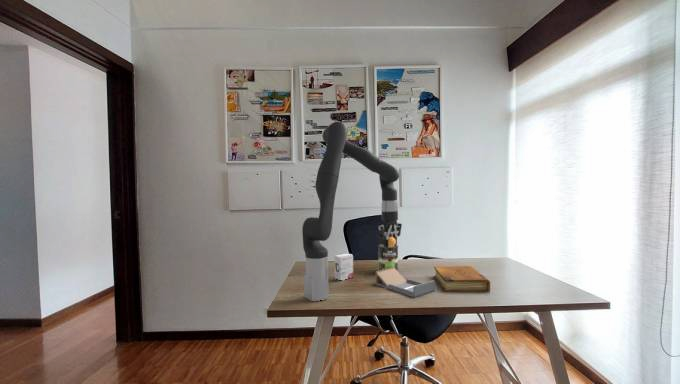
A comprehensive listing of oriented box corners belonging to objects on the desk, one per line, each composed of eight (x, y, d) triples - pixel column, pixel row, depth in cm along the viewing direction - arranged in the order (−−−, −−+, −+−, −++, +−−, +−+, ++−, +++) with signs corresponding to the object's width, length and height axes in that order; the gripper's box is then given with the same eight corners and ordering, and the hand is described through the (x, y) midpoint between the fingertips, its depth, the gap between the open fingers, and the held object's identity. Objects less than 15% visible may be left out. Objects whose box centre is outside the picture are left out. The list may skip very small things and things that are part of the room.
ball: (382, 247, 154) (382, 236, 154) (390, 245, 157) (390, 235, 157) (390, 248, 150) (390, 237, 150) (398, 247, 153) (398, 236, 153)
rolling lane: (415, 298, 134) (414, 283, 134) (374, 285, 153) (374, 271, 153) (434, 291, 142) (434, 277, 142) (394, 279, 161) (394, 266, 161)
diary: (490, 293, 140) (490, 279, 140) (445, 293, 141) (445, 279, 141) (472, 277, 163) (472, 265, 163) (434, 277, 164) (433, 265, 164)
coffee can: (400, 274, 168) (399, 247, 168) (380, 275, 168) (379, 247, 168) (396, 269, 179) (395, 243, 178) (377, 269, 178) (376, 243, 178)
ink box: (347, 275, 168) (347, 252, 167) (354, 278, 164) (353, 254, 163) (334, 279, 162) (333, 255, 162) (340, 281, 158) (340, 257, 158)
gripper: (394, 208, 160) (395, 243, 161) (372, 210, 152) (373, 247, 152) (406, 209, 154) (406, 245, 155) (384, 211, 146) (385, 249, 146)
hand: (390, 246), depth 154 cm, fingers closed on ball, 5 cm apart
